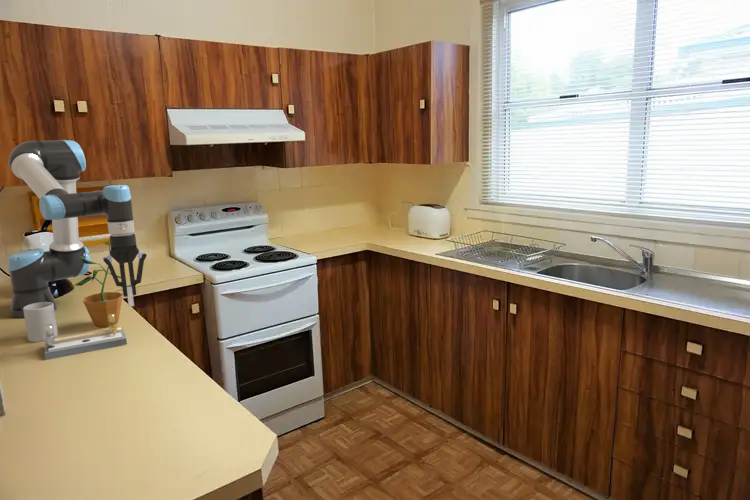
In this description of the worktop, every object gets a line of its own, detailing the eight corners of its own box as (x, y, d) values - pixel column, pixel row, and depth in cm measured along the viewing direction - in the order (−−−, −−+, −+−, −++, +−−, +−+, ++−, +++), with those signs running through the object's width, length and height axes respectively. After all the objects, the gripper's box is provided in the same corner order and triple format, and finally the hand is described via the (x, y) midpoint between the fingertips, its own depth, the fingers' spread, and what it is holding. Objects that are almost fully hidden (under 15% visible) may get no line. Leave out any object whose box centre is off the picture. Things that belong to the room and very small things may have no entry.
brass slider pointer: (109, 328, 175) (107, 312, 174) (116, 327, 176) (114, 311, 175) (111, 335, 169) (109, 319, 168) (118, 334, 170) (116, 318, 169)
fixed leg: (47, 339, 167) (44, 323, 166) (54, 338, 168) (52, 322, 167) (46, 347, 161) (44, 331, 160) (54, 345, 162) (51, 329, 161)
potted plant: (122, 312, 201) (112, 233, 195) (141, 324, 188) (132, 239, 182) (69, 324, 189) (57, 241, 183) (86, 337, 176) (74, 248, 170)
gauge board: (46, 346, 169) (45, 337, 169) (123, 332, 180) (122, 324, 179) (45, 359, 159) (44, 350, 158) (126, 344, 169) (125, 335, 169)
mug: (56, 339, 175) (51, 307, 173) (25, 344, 172) (20, 311, 170) (61, 328, 186) (56, 297, 184) (32, 332, 183) (27, 301, 180)
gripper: (100, 238, 164) (110, 311, 169) (145, 233, 171) (154, 304, 175) (98, 234, 171) (108, 306, 176) (142, 230, 177) (150, 299, 182)
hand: (131, 305), depth 175 cm, fingers closed
